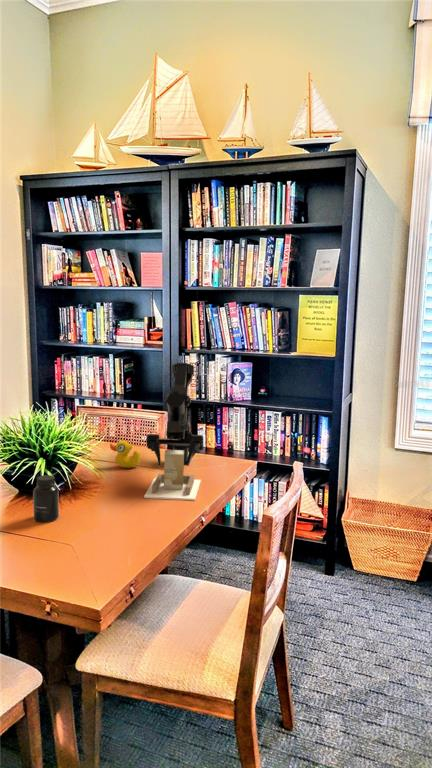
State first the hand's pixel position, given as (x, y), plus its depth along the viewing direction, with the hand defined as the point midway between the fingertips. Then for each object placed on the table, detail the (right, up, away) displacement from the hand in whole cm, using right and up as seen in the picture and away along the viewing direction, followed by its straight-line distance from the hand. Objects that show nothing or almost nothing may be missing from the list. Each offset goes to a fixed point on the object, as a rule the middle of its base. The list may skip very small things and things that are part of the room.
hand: (173, 464), depth 179 cm
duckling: (-19, -5, +25) cm, 32 cm away
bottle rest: (0, -8, +3) cm, 9 cm away
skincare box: (0, -8, +3) cm, 8 cm away
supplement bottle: (-34, -12, -22) cm, 43 cm away
